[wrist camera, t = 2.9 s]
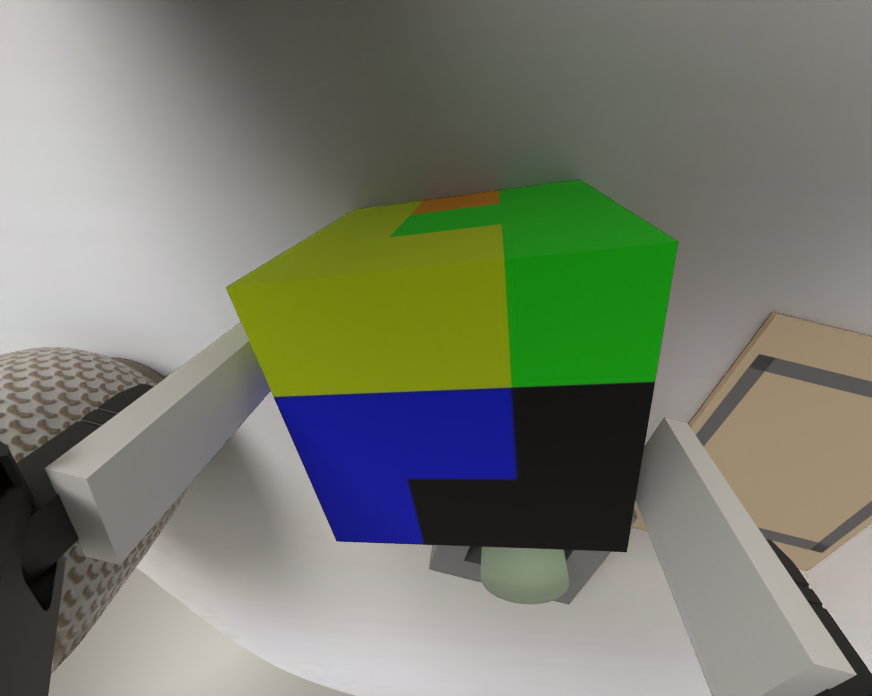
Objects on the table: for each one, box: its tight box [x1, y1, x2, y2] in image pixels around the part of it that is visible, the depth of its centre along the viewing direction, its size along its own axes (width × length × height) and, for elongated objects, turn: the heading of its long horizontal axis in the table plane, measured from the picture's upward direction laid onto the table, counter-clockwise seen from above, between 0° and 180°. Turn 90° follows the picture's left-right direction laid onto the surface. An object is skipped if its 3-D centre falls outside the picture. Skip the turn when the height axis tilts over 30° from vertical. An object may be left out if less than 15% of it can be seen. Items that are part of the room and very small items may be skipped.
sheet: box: [631, 312, 872, 571], centre depth 21 cm, size 16×13×1 cm
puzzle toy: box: [226, 180, 678, 552], centre depth 15 cm, size 10×10×10 cm
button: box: [481, 547, 569, 604], centre depth 23 cm, size 5×5×4 cm
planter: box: [0, 347, 188, 673], centre depth 21 cm, size 14×14×13 cm
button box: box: [429, 509, 638, 604], centre depth 25 cm, size 10×10×3 cm
